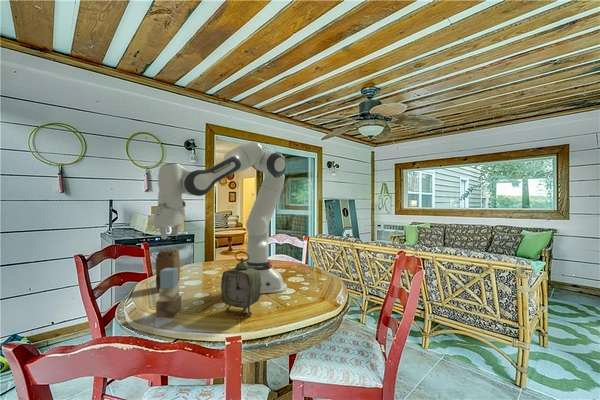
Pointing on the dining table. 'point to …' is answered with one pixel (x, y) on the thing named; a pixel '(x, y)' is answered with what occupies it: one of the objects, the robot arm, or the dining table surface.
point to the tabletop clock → (241, 286)
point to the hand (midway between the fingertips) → (169, 237)
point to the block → (167, 262)
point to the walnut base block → (168, 308)
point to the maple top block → (168, 294)
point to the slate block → (168, 278)
